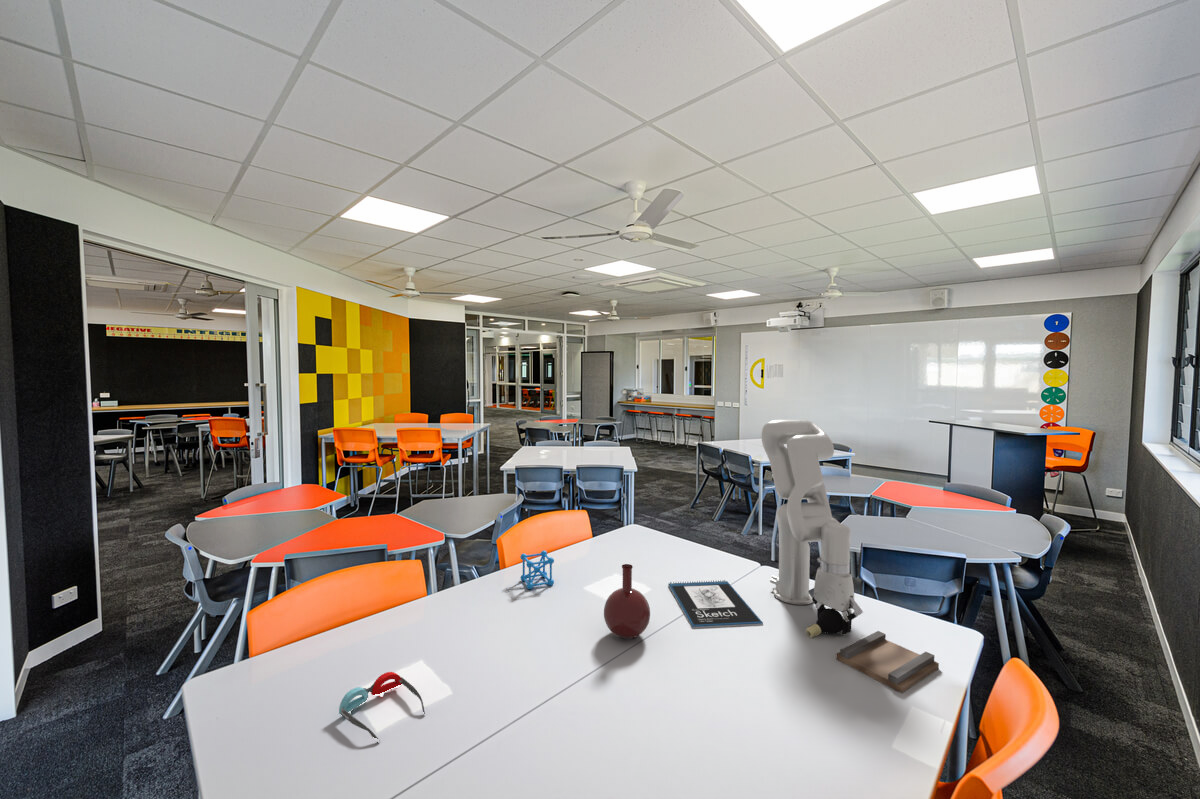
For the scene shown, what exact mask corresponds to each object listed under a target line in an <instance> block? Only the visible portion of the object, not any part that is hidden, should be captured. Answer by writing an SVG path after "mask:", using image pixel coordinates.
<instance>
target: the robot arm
mask: <svg viewBox="0 0 1200 799" xmlns="http://www.w3.org/2000/svg"><path fill="white" fill-rule="evenodd" d="M761 443H762V447H763V449H764V452H765V453H766V455H767V458H768V461H769V464H770V468H771V473H772V474H771V475H772V479H773V484H774V489H775V492H776V494H777V496H778V497H779V498H780V499H783V500H787V503H784V504H781V506H779V507H778V508H777V510H776V522H777V528H778V538H779V540H778V541H779V543H778V549H779V550H778V576H777V575H771V579H770V580H769V582H770V583H771V584H773V585H775V587H774V589H773V596H774V597H775V598H776V599H778V600H779V601H781V602H785V603H787V604H790V605H798V606H800V605H801V606H802V605H809V604H812V603H814V605H815V607H814V608H816V614H817V615H816V618H817V619H818V617H819V615H820V613H821V612H822V611H823V610H825V609H827V607H828V608H831V609H835V610H837V611H838V612H839V613H841V615H842V616H843V618H844V620H842V631H841V633H842V635H844V636H845V635H848V634H850V633H851V632H852V622H853V621H852V620H854V619H856V618H857V617H859V616H860V615H861V614H863V613H864V612H863V610H862V608H861V607H860V605H859V604H858V603H857V601H856V600H855V590H854V582H853V577H852V574H851V573H850V570H851V569H850V564H851V563H850V562H851V559H850V557H851V530H850V528H849V527H848V526H847V525H846V524H844V523H841V522H840V521H838V520H837V518H835V517H833V515H832V510H831V507H830V503H829V498H828V495H827V491H826V490H827V489H826V486H825V482H824V476H823V473H822V468H821V465H820V461H828V460H831V458H833V456H834V453H835V449H834V448H835V446H834V444H833V441H832V438H831V437H830V436H829V435H828V434H827V433H826V432H825V431H824V430H822V429H821V427H819V426H818V425H817V423H815V422H813V421H812V420H809V419H774V420H771V421H768V422H766V423H765V424H764V425H763V427H762V428H761ZM785 445H786V446H785ZM802 500H807V502H802ZM815 542H817V543H818V542H820V556H819V557H817V559H816V560H817V562H818V563H819V566H818V568H817V570H816V574H815V579H814V585H813V586H814V587H813V588H811V589H810V566H811V565H810V559H811V554H810V553H811V549H810V548H811V547H810V544H809V543H815ZM825 606H826V607H825ZM852 610H853V612H852Z"/></svg>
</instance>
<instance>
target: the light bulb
mask: <svg viewBox="0 0 1200 799" xmlns="http://www.w3.org/2000/svg"><path fill="white" fill-rule="evenodd" d="M842 620H844V617H843V615H842V613H841V612H840V611H838V610H835V609H833V608H830V607H828V608H827V607H826V609H825V610H823V611H822V612H821V613H820V615H819V617H818V618H817V619H816V621H815V623H813V624H812V625H810V626H808V627H806V629H805V630H806V634H807V635H808V636H809V638H811V637H812V638H814V637H816V636H818V635H820V634H827V635H828V634H831V635H836V634H839V633H842Z"/></svg>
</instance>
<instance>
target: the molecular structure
mask: <svg viewBox="0 0 1200 799" xmlns="http://www.w3.org/2000/svg"><path fill="white" fill-rule="evenodd" d="M537 556H540V559H539V561H535V562H533V561H532V560H529V559H528V558H531V557H532V558H533V557H537ZM520 559H521V560H522V574H521V576H520V578H519V579H520V580H521V581H522V582H525V583H526V588H527V590H529V589H530V590H533V588H534V587H537V586H544V585H548V586H553V585H554V584H555V580H554V579H553V568H552V567H553V564H554V563H555V559H554V558H553V557H552V556H550V557H549V556H548V551H546V550H542V551H541V552H540V553H533V554H526V553H522V554H520ZM546 559H547V560H546ZM525 563H526V565H525ZM541 564H542V565H541ZM547 565H549V576H548V572H547V571H546V566H547ZM526 567H527V568H528V573H527V574H525V573H526V572H525V571H526V570H525V569H526ZM532 569H533V570H532ZM541 569H542V570H541ZM537 573H538V574H537ZM536 577H537V578H538V577H542V578H543V577H544V579H545V580H546V581H545V582H544V581H543V582H540V583H539V582H538V583H533V582H534V580H535V578H536ZM527 579H528V580H527Z"/></svg>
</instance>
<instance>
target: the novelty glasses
mask: <svg viewBox="0 0 1200 799" xmlns="http://www.w3.org/2000/svg"><path fill="white" fill-rule="evenodd" d="M389 680H394V681H390V682H388V681H389ZM386 682H388V683H386ZM401 684H402V685H403V686H404V687H406V689H408V690H409V691H410V692H411V693H412V694H413V695H414V696H416V698H418V700H420V703H421V709H422V713H423V712H424V714H425V715H426V712H425V706H424V702H423V699H422V696H421V694H420V693H419V691H418V690H417V689H416V688H415V686H413V684H411V683H410V682H409V681H407V680H406V679H405V678H404V677H403V676H400V675H399V674H398V673H396V672H394V671H388V672H384V673H383V674H381V675H379V676H378V677H377V678H376V680H375V681H373V683H372V685H371V686H370V687H368V688H366V687H361V686H359V687H358V686H356V687H354V688H352V689H350V690H349V691H348V692H346V694H344V696H343V698H342V699H341V702H340V704H339V707H338V714H339V715H340V714H341V715H342V716H341V715H340V716H341V717H343V718H344V719H346V720H347V721H348V722H350V724H352V725H354V726H356V727H358V728H359V729H362V730H364V731H367V732H368V733H369V735H370V736H371V737H372V738H373V737H374V738H377V739H379V738H378V737H377V735H376V734H375V733H374V732H373V731H372V730H371V729H370V728H369V727H367V726H366V725H365V724H364V723H363V722H361V721H360V720H359V719H358V718H356V717H355V716H354V715H352V713H351V714H350V713H348V712H349V711H351V710H352V709H354V708H356V707H357V706H359V705H360V704H362V703H363V702H365V701H366V700H367V698H368V699H369V693H370V694H371V695H372V696H373V695H375V694H380V693H382V692H385V691H387V690H389V689H391V688H394V687H396V686H398V685H401ZM402 685H401V686H402ZM358 696H360V697H358ZM367 701H368V700H367ZM359 707H360V706H359ZM357 708H358V707H357ZM357 708H356V709H357ZM354 710H355V709H354ZM424 714H423V715H424Z"/></svg>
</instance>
